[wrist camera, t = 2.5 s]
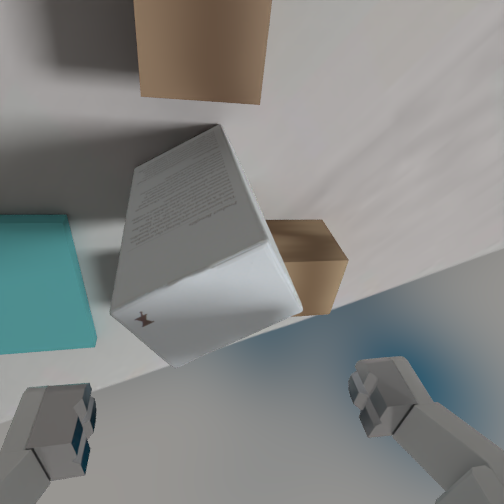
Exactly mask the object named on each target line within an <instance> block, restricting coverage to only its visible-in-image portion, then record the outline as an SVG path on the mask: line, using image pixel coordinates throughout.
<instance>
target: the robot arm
mask: <svg viewBox="0 0 504 504" xmlns="http://www.w3.org/2000/svg"><path fill="white" fill-rule="evenodd" d="M355 368H356V370H357V371H356V372H354V373H353V374H351V376H350V379H349V381H348V382H349V393H350V397H351V399H352V402H353V404H354V405H355V406H357V407H358V408H359V409H360V415H359V418H360V421H361V423H362V425H363V427H364V430H365V432H366V434H367V437H368V438H370V437H380V436H390V435H393V438H394V439H395V440H396V441H397V442H398V443H399V444H400V445H401V446H402V447H403V448H404V449H405V450H406V451H407V452H408V453H409V454H410V455H411V456H412V457H413V458H414V459H415V460H416V461H417V462H418V463H419V464H420V465H421V466H422V467H423V469H425V470H426V471H427V473H428V474H429V475H430V476H432V478H433V479H434V480H435V481H436V482H437V483H438V484H439V485H440V486H441V487H442V488H443V489H444V490H445V492H444V493H443V494H442V495H441V496H440V497H439V498H438V499H437V500H436V502H435V504H504V451H503V450H502V449H501V448H499V447H498V446H497V445H495V444H494V443H493V442H491V441H490V440H488V439H487V438H486V437H485V436H483V435H482V434H480V433H479V432H478V431H476V430H475V429H474V428H472V427H471V426H470V425H468V424H467V423H465V422H464V421H463V420H461V419H460V418H459V417H457V416H456V415H455V414H453V413H452V412H451V411H449V410H448V409H446V408H445V407H444V406H442V405H441V404H440V403H438V402H436V403H434V402H433V400H432V399H431V397H430V396H429V394H428V392H427V391H426V389H425V388H424V386H423V385H422V383H421V381H420V380H419V378H418V377H417V375H416V373H415V372H414V370H413V369H412V367H411V366H410V364H409V362H408V361H407V360H406V359H405V358H404V357H400V356H399V357H389V358H387V357H385V358H375V359H365V360H360V361H358V362H357V363H356V366H355ZM91 391H92V388H91V386H90V383H81V384H68V385H56V386H40V387H29V388H27V389H26V391H25V392H24V393H23V395H22V398H21V400H20V403H19V405H18V408H17V410H16V413H15V415H14V418H13V420H12V423H11V425H10V428H9V430H8V433H7V436H6V438H5V441H4V443H3V446H2V448H1V451H0V504H36V502H37V501H38V500H39V498H40V497H41V496H42V494H43V493H44V492H45V490H46V489H47V487H48V486H49V485H50V481H54V480H60V479H66V478H72V477H78V476H84V475H85V474H86V468H87V463H88V459H89V453H90V447H89V444H88V441H87V440H88V438H89V437H90V436H91V435H92V434H93V432H94V428H95V422H96V402H95V399H94V398H93V397H91Z"/></svg>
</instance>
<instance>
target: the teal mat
mask: <svg viewBox="0 0 504 504" xmlns="http://www.w3.org/2000/svg"><path fill="white" fill-rule="evenodd" d="M96 340H97V335H96V331H95V327H94V323H93V319H92V315H91V311H90V307H89V303H88V299H87V295H86V291H85V287H84V283H83V279H82V275H81V271H80V267H79V263H78V259H77V254H76V250H75V246H74V242H73V238H72V234H71V230H70V226H69V222H68V218H67V215H0V355H2V354H14V353H27V352H40V351H53V350H65V349H78V348H91V347H95V345H96Z"/></svg>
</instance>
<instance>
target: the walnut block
mask: <svg viewBox="0 0 504 504" xmlns="http://www.w3.org/2000/svg"><path fill="white" fill-rule="evenodd" d="M133 2H134V15H135V27H136V40H137V53H138V66H139V78H140V91H141V97H154V98H169V99H183V100H198V101H212V102H227V103H241V104H255V105H260V99H261V90H262V82H263V73H264V64H265V56H266V47H267V39H268V30H269V21H270V13H271V4H272V0H133Z"/></svg>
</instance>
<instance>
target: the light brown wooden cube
mask: <svg viewBox="0 0 504 504" xmlns="http://www.w3.org/2000/svg"><path fill="white" fill-rule="evenodd" d="M266 223H267V225H268V227H269V230H270V232H271V234H272V236H273V239H274V241H275V244H276V246H277V248H278V250H279V253H280V255H281V257H282V260H283V262H284V264H285V266H286V269H287V271H288V273H289V276H290V278H291V280H292V283H293V285H294V287H295V290H296V292H297V294H298V297H299V299H300V301H301V304H302V307H303V311H302V312H301V313H299V314H296V315H293V316H291V317H294V316H309V315H323V314H330V311H331V309H332V306H333V303H334V300H335V297H336V294H337V292H338V289H339V286H340V283H341V280H342V278H343V275H344V272H345V269H346V266H347V264H348V261H349V260H348V259H347V257H346V255H345V254H344V252H343V251H342V249H341V248H340V246H339V245H338V243H337V242H336V240H335V239H334V237H333V236H332V234H331V233H330V231H329V229H328V228H327V226H326V225H325V223H324V222H323V220H266Z"/></svg>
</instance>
